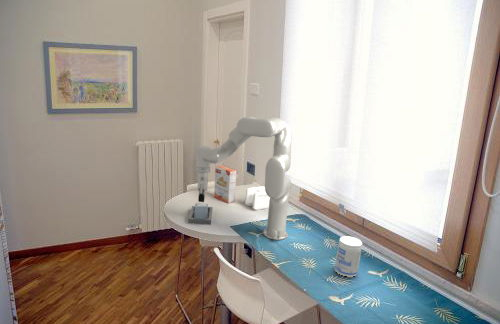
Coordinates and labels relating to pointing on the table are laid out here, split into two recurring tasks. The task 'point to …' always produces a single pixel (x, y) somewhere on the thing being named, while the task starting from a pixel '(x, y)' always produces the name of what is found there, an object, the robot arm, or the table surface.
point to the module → (201, 211)
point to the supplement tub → (348, 256)
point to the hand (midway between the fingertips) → (201, 201)
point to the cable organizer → (257, 198)
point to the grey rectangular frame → (200, 221)
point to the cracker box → (225, 184)
